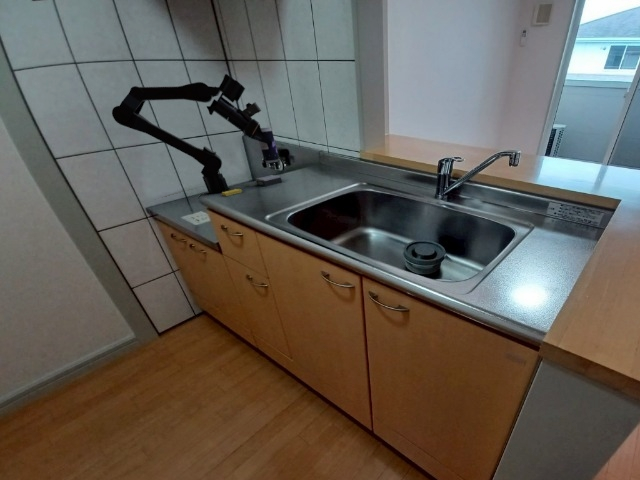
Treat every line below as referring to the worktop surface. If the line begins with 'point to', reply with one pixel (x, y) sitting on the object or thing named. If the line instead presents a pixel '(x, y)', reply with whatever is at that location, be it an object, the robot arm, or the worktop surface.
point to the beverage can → (269, 147)
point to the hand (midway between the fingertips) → (271, 143)
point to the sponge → (231, 192)
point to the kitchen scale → (268, 180)
